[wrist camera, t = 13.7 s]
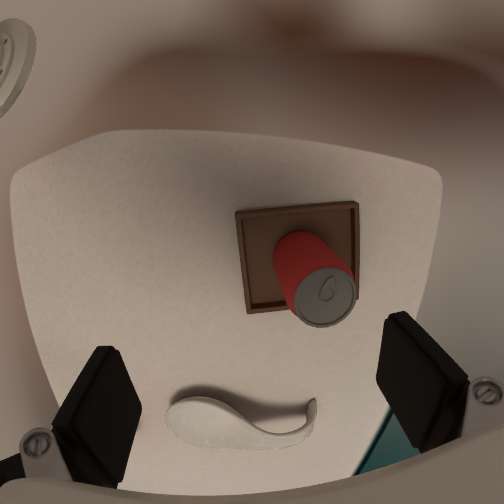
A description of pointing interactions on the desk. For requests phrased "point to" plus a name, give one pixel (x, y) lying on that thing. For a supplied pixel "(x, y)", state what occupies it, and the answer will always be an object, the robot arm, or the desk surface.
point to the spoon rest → (228, 426)
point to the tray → (280, 225)
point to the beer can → (314, 279)
